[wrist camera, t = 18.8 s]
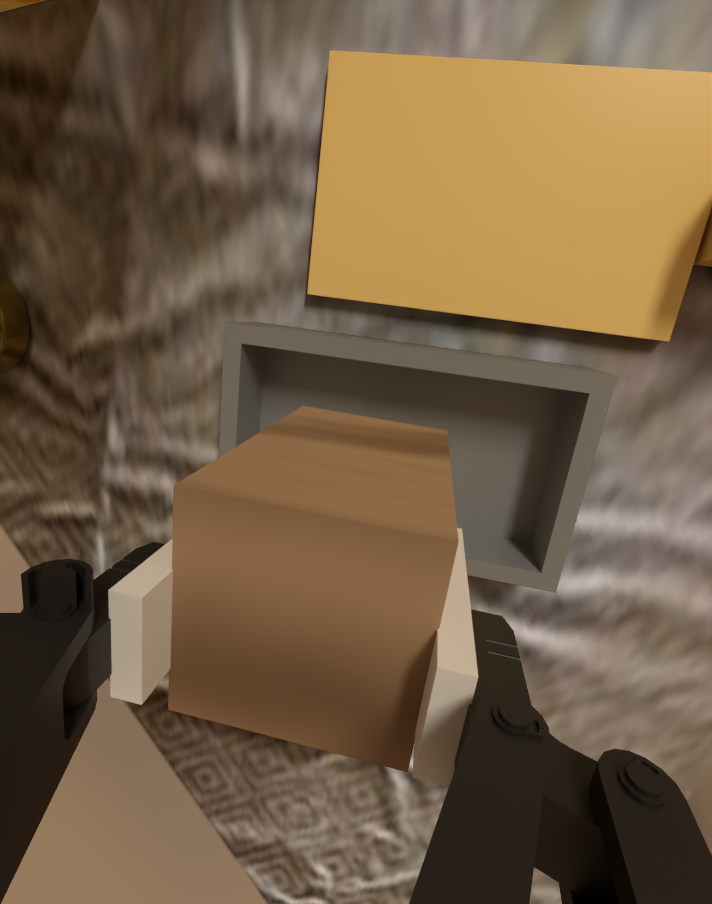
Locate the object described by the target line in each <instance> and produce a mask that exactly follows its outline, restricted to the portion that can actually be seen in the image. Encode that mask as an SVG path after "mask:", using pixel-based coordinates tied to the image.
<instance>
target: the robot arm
mask: <svg viewBox="0 0 712 904" xmlns="http://www.w3.org/2000/svg"><path fill="white" fill-rule="evenodd" d="M457 530H458V540H459V542H458V547H457V551H456V556H455V560H454V565H453V569H452V574H451V578H450V583H449V587H448V592H447V596H446V601H445V605H444V610H443V614H442V619H441V624H440V628H439V629H437V633H436V638H435V643H434V647H433V652H432V656H431V661H430V665H429V670H428V674H427V679H426V684H425V688H424V693H423V697H422V702H421V706H420V711H419V716H418V720H417V725H416V729H415V746H414V763H413V778H417V779H421V780H425V781H428V782H432V783H436V784H439V785H443V786H447V787H449V789H448V792H447V794H446V797H445V800H444V803H443V806H442V809H441V812H440V815H439V818H438V821H437V824H436V827H435V830H434V832H433V835H432V838H431V841H430V844H429V847H428V850H427V853H426V856H425V859H424V862H423V865H422V868H421V870H420V873H419V876H418V879H417V882H416V885H415V888H414V891H413V894H412V897H411V900H410V903H409V904H529V901H530V893H531V885H532V877H533V869H534V867H535V868H537V869H538V870H540V871H542V872H543V873H545V874H546V875H548V876H549V877H551V878H553V879H554V880H556V881H557V882H559V887H560V893H561V900H562V904H712V855H711V853H710V851H709V849H708V847H707V844H706V842H705V840H704V838H703V836H702V833H701V831H700V829H699V827H698V825H697V822H696V820H695V818H694V816H693V814H692V812H691V809H690V807H689V805H688V803H687V800H686V798H685V797H684V795H683V794H682V792H681V791H680V789H679V787H678V786H677V784H676V783H675V782H674V781H673V780H672V779H671V778H670V777H669V776H668V775H667V774H666V773H665V772H664V771H663V770H662V769H661V768H659V767H658V766H656V765H655V764H653V763H652V762H651V761H649V760H648V759H646V758H644V757H642V756H640V755H637V754H635V753H633V752H630V751H626V750H619V749H613V750H609V751H606V752H604V753H603V754H602V756H601V757H600V758H599V760H598V762H597V761H595V760H593V759H591V758H589V757H587V756H585V755H583V754H581V753H579V752H577V751H575V750H573V749H571V748H570V747H568V746H566V745H564V744H563V743H561V742H559V741H558V740H557V739H556V738H554V737H553V736H552V735H551V734H549V727H548V725H547V724H546V722H545V720H544V719H543V717H542V715H541V714H540V713H539V712H538V711H537V710H536V709H535V708H533V707H532V706H531V702H530V698H529V694H528V689H527V685H526V681H525V677H524V673H523V669H522V664H521V661H520V656H519V652H518V648H517V644H516V640H515V635H514V631H513V630H512V628H511V627H510V626H509V624H508V623H507V622H506V621H505V619H504V618H503V617H502V616H499V615H494V614H490V613H485V612H481V611H476V610H471V606H470V597H469V588H468V578H467V569H466V560H465V551H464V542H463V533H462V529H460V528H457ZM172 540H173V539H171V540H170V541H169V542H168V543H166V544H162V543H157V542H153V543H150V544H147V545H145V546H142V547H139V548H137V549H135V550H134V551H132V552H131V553H130V554H128V555H127V556H126V557H124V558H123V560H122V561H121V560H120V561H119V562H118V563H116V564H115V565H114V566H112V569H110V568H109V569H108V570H107V571H105V572H104V573H103V574H101V575H100V576H99V577H97V578H96V579H95V580H93V569H92V568H91V566H90V565H89V564H87V563H85V562H83V561H79V560H73V559H64V560H54V561H49V562H44V563H41V564H39V565H36V566H34V567H31V568H29V569H28V570H27V571H25V572H24V573H22V574H21V581H22V593H23V606H24V609H23V610H22V612H21V613H0V904H1V902H2V900H3V898H4V896H5V894H6V892H7V890H8V888H9V885H10V884H11V881H12V879H13V877H14V875H15V873H16V871H17V869H18V867H19V865H20V863H21V861H22V859H23V857H24V854H25V853H26V851H27V848H28V846H29V844H30V842H31V840H32V838H33V836H34V834H35V832H36V830H37V828H38V826H39V824H40V822H41V820H42V818H43V815H44V813H45V811H46V809H47V807H48V805H49V803H50V801H51V799H52V797H53V795H54V793H55V790H56V789H57V786H58V785H59V783H60V780H61V778H62V776H63V774H64V772H65V770H66V768H67V766H68V764H69V762H70V760H71V758H72V756H73V753H74V752H75V750H76V747H77V745H78V743H79V741H80V739H81V737H82V735H83V733H84V731H85V729H86V727H87V725H88V723H89V721H90V719H91V716H92V714H93V712H94V710H95V707H96V703H97V689H98V688H99V687H100V686H101V685H102V684H103V683H104V681H105V680H106V679H107V678H108V677H109V676H110V696H111V697H113V698H117V699H121V700H125V701H128V702H132V703H136V704H140V705H142V704H143V703H144V702H145V700H146V699H147V698H148V696H149V695H150V694H151V693H152V691H153V690H154V689H155V687H156V686H157V685H158V684H159V682H160V681H161V680H162V679H163V677H164V676H165V675H166V673H167V672H168V671H169V670H170V666H171V626H172V586H173V570H172ZM454 770H455V771H454Z"/></svg>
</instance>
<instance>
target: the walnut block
mask: <svg viewBox="0 0 712 904" xmlns="http://www.w3.org/2000/svg"><path fill="white" fill-rule="evenodd" d="M458 542H459V540H458V530H457V520H456V510H455V500H454V491H453V481H452V471H451V461H450V451H449V441H448V431H447V430H443V429H437V428H431V427H425V426H419V425H413V424H407V423H401V422H396V421H390V420H384V419H378V418H372V417H366V416H360V415H354V414H348V413H343V412H337V411H331V410H325V409H319V408H313V407H307V406H302V407H300V408H299V409H297V410H295V411H294V412H292V413H291V414H289V415H287V416H286V417H284V418H282V419H281V420H279V421H277V422H276V423H274V424H273V425H271V426H269V427H268V428H266V429H264V430H263V431H261V432H260V433H258V434H256V435H255V436H253V437H251V438H250V439H248V440H247V441H245V442H243V443H242V444H240V445H238V446H237V447H235V448H234V449H232V450H230V451H229V452H227V453H225V454H224V455H222V456H221V457H219V458H217V459H216V460H214V461H212V462H211V463H209V464H208V465H206V466H204V467H203V468H201V469H199V470H198V471H196V472H195V473H193V474H191V475H190V476H188V477H186V478H185V479H183V480H182V481H180V482H178V483H177V484H175V485H174V500H173V540H172V570H173V586H172V626H171V666H170V670H169V699H168V710H172V711H175V712H179V713H183V714H187V715H191V716H195V717H198V718H202V719H206V720H210V721H214V722H218V723H221V724H225V725H229V726H233V727H237V728H241V729H244V730H248V731H252V732H256V733H260V734H264V735H267V736H271V737H275V738H279V739H283V740H287V741H290V742H294V743H298V744H302V745H306V746H309V747H313V748H317V749H321V750H325V751H329V752H332V753H336V754H340V755H344V756H348V757H352V758H355V759H359V760H363V761H367V762H371V763H375V764H378V765H382V766H386V767H390V768H394V769H398V770H401V771H405V772H408V768H409V764H410V759H411V754H412V750H413V745H414V741H415V729H416V725H417V720H418V716H419V711H420V706H421V702H422V697H423V693H424V688H425V684H426V679H427V674H428V670H429V665H430V661H431V656H432V652H433V647H434V643H435V638H436V633H437V629H439V628H440V624H441V619H442V614H443V610H444V605H445V601H446V596H447V592H448V587H449V583H450V578H451V574H452V569H453V565H454V560H455V556H456V551H457V547H458Z"/></svg>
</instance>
